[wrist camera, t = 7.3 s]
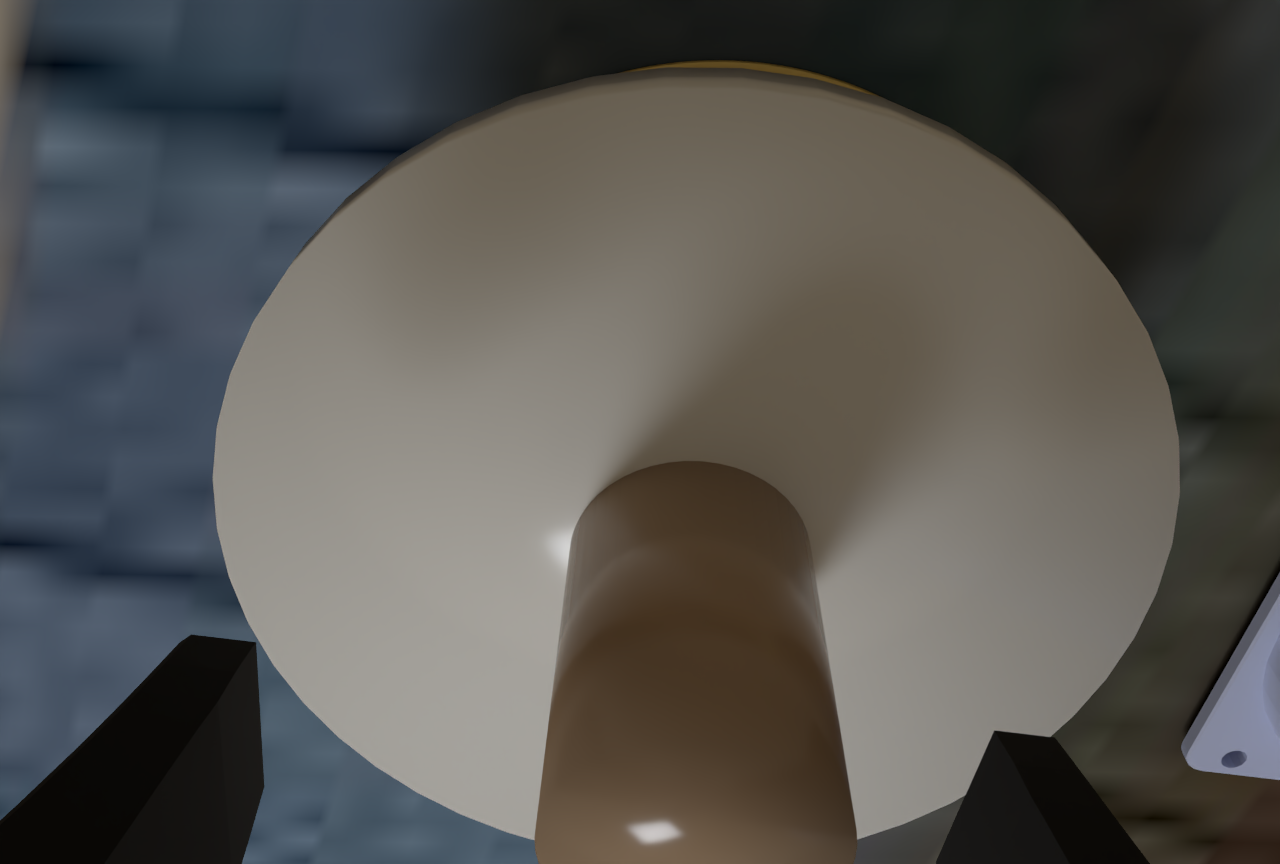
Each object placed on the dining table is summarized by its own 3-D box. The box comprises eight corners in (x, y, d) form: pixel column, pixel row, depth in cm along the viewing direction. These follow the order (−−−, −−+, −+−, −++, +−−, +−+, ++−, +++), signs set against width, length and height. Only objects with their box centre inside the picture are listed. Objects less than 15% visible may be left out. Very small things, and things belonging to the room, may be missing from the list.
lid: (1344, 190, 13) (1693, 446, 9) (963, 869, 20) (1049, 1212, 15) (237, -44, 12) (-24, 109, 8) (230, 758, 19) (91, 1090, 14)
